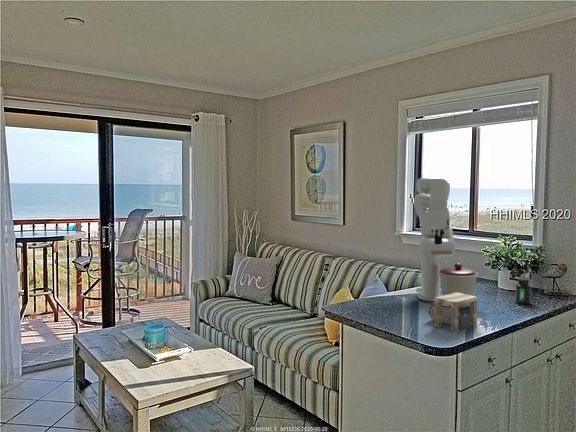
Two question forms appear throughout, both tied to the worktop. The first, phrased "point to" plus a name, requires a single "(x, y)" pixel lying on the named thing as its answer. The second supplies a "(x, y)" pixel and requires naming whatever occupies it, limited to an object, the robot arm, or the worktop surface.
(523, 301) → the supplement bottle
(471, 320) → the small wooden stool
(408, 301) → the worktop surface
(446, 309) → the tin
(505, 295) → the worktop surface
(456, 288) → the canister
